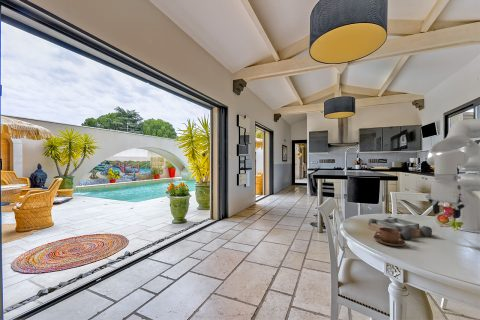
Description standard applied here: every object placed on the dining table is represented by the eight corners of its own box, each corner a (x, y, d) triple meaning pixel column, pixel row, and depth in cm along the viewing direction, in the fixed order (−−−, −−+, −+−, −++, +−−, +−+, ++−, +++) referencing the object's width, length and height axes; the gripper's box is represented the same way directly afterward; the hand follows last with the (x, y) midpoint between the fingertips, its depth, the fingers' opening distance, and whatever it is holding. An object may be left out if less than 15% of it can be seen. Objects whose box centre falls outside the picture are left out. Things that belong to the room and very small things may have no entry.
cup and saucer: (391, 249, 88) (391, 235, 88) (367, 239, 99) (367, 227, 100) (411, 246, 91) (411, 233, 91) (386, 237, 103) (386, 225, 103)
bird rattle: (440, 233, 94) (465, 230, 88) (427, 210, 98) (451, 205, 91) (443, 230, 98) (468, 227, 91) (431, 208, 101) (454, 203, 95)
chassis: (394, 224, 123) (394, 215, 123) (434, 236, 104) (434, 225, 104) (366, 227, 117) (366, 218, 117) (402, 240, 98) (402, 229, 98)
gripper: (476, 179, 87) (477, 220, 88) (429, 176, 104) (429, 210, 104) (465, 180, 85) (466, 222, 85) (419, 176, 102) (419, 211, 102)
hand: (446, 215), depth 95 cm, fingers closed on bird rattle, 6 cm apart
